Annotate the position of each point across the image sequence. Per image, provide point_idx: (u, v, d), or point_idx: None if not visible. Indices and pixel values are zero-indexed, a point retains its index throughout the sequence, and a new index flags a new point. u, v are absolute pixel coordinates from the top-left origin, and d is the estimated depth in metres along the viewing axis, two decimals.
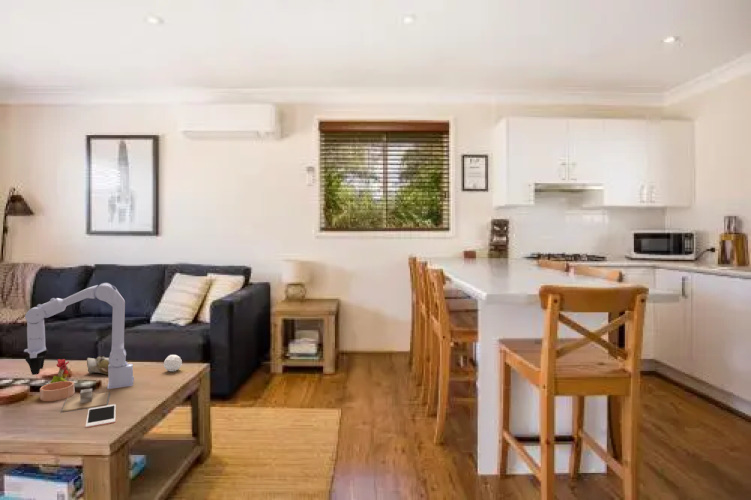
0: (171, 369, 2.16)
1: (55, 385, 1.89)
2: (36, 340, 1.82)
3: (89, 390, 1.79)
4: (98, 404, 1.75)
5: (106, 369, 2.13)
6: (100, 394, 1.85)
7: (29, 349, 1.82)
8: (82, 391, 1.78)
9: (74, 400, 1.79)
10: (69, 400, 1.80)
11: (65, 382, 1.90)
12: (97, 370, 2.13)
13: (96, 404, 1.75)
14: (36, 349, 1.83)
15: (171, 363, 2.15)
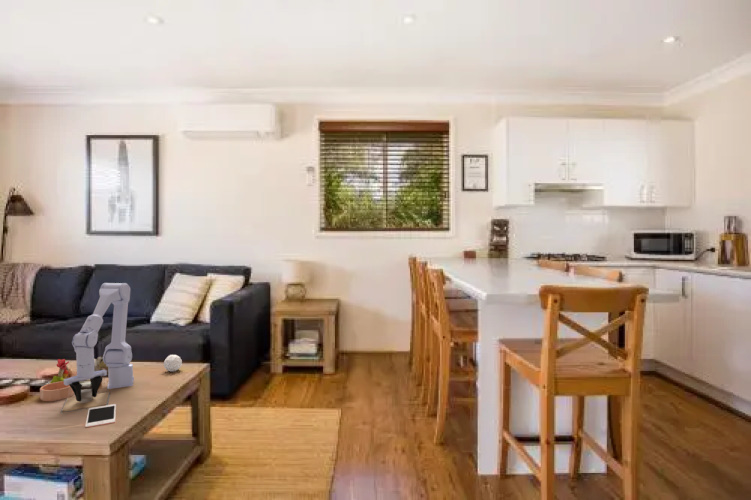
0: (171, 369, 2.16)
1: (55, 385, 1.89)
2: (78, 367, 1.75)
3: (89, 390, 1.79)
4: (98, 404, 1.75)
5: (106, 369, 2.12)
6: (100, 394, 1.85)
7: None
8: (82, 391, 1.78)
9: (74, 400, 1.79)
10: (69, 400, 1.80)
11: None
12: (97, 370, 2.13)
13: (96, 404, 1.75)
14: (78, 376, 1.76)
15: (171, 363, 2.15)
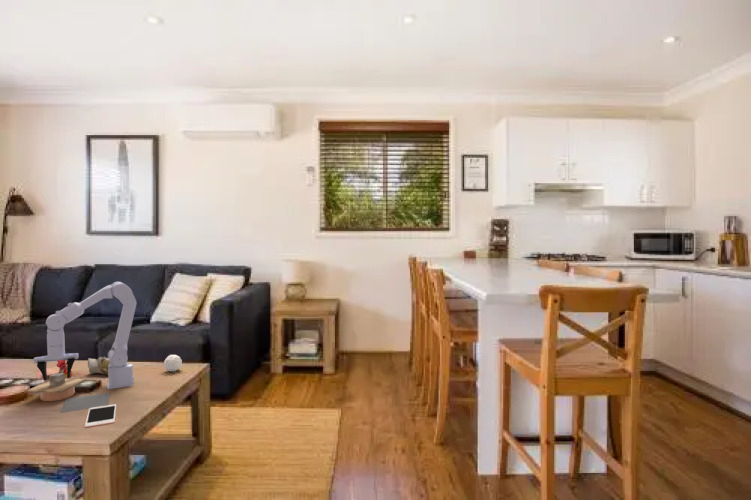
0: (171, 369, 2.16)
1: None
2: (47, 347, 1.83)
3: (59, 375, 1.85)
4: (56, 390, 1.79)
5: None
6: (76, 380, 1.90)
7: None
8: (53, 375, 1.85)
9: None
10: (50, 380, 1.90)
11: None
12: (98, 370, 2.12)
13: (55, 389, 1.79)
14: (47, 356, 1.83)
15: (171, 363, 2.15)
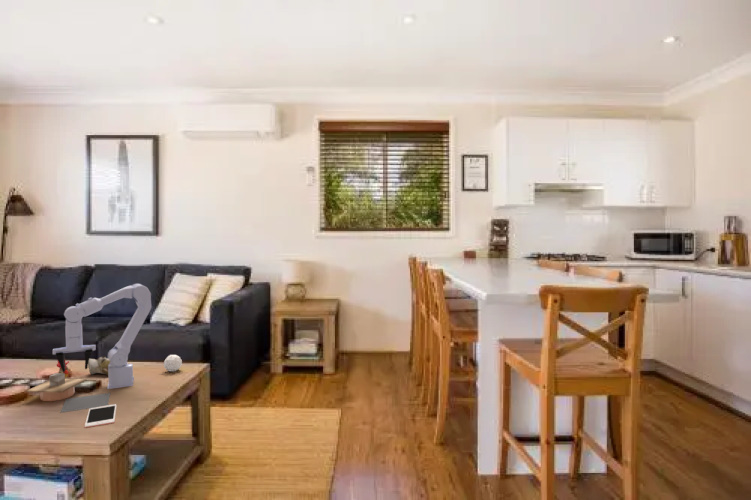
0: (171, 369, 2.16)
1: None
2: None
3: (59, 375, 1.85)
4: (56, 390, 1.79)
5: None
6: (76, 380, 1.90)
7: None
8: (53, 375, 1.85)
9: None
10: (50, 380, 1.90)
11: None
12: (99, 371, 2.12)
13: (55, 389, 1.79)
14: (65, 347, 1.86)
15: (171, 363, 2.15)
